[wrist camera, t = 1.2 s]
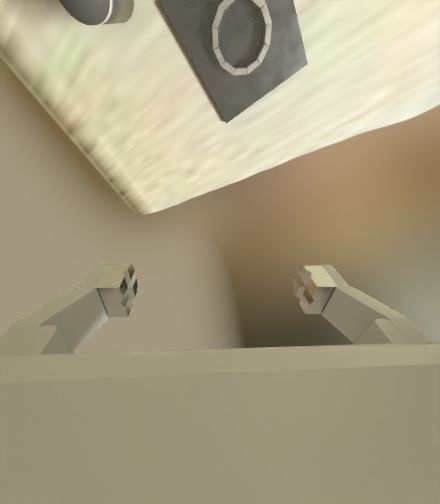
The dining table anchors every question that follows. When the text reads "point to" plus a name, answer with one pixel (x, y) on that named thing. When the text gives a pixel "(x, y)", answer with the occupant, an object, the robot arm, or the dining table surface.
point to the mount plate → (239, 46)
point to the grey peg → (99, 11)
